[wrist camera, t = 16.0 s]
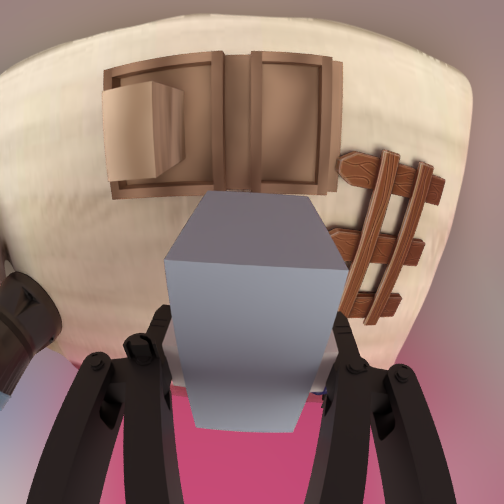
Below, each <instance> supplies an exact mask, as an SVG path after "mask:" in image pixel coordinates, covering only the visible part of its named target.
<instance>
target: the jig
mask: <svg viewBox="0 0 504 504" xmlns="http://www.w3.org/2000/svg"><path fill="white" fill-rule="evenodd" d="M149 81H153V82H157V83H160V84H163V85H167V86H170V87H173V88H176V89H179V90H182V91H184V130H185V156H186V158H185V159H184V160H182V161H180V162H179V163H177V164H176V165H174V166H173V167H171V168H170V169H168V170H167V171H165V172H164V173H162V174H161V175H159V176H158V177H156V178H144V179H132V180H121V181H111V182H110V185H111V192H112V199H113V200H116V199H130V198H146V197H166V196H194V195H205V194H206V192H207V191H226V190H232V189H251V193H268V194H306V195H327V192H337V184H338V173H337V172H336V170H335V168H336V164H337V159H338V157H340V145H341V127H342V99H343V62H338V61H332V57H328V56H320V55H311V54H301V53H289V52H268V51H251V55H225V54H224V52H223V51H211V52H199V53H189V54H181V55H174V56H167V57H161V58H155V59H150V60H144V61H140V62H135V63H130V64H126V65H122V66H118V67H114V68H110V69H107V70H104V80H103V91H106V90H110V89H114V88H119V87H123V86H128V85H133V84H138V83H143V82H149Z"/></svg>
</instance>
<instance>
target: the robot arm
mask: <svg viewBox="0 0 504 504" xmlns="http://www.w3.org/2000/svg"><path fill="white" fill-rule="evenodd" d="M61 328H62V324H61V318H60V315H59V313H58V311H57V309H56V307H55V305H54V303H53V302H52V300H51V299H50V297H49V296H48V295H47V293H46V292H45V291H44V290H43V289H42V288H41V287H40V285H38V284H37V283H36V282H35V281H34V280H33V279H31V278H30V277H28V276H27V275H25V274H22V273H19V272H14V273H11V274H10V275H9V276H8V277H6V278H5V279H4V281H3V282H2V284H1V286H0V411H1V410H2V409H3V408H4V406H5V405H6V403H7V402H8V400H9V398H11V394H12V393H13V391H14V389H15V387H16V385H17V383H18V382H19V380H20V378H21V376H22V374H23V373H24V371H25V369H26V368H27V366H28V364H29V363H30V361H31V359H32V358H33V356H34V355H35V354H37V353H38V352H39V351H41V350H42V349H44V348H45V347H47V346H48V345H49V344H51V343H52V342H54V341H55V339H56V338H57V336H58V335H59V333H60V332H61ZM123 347H124V350H125V352H126V354H127V358H121V359H110V357H109V356H108V355H107V354H106V353H103V352H95V353H91V354H90V355H88V356H87V357H86V358H85V360H84V361H83V363H82V365H81V367H80V369H79V371H78V373H77V375H76V377H75V379H74V381H73V383H72V385H71V387H70V389H69V391H68V393H67V396H66V397H65V400H64V402H63V404H62V407H61V409H60V411H59V413H58V415H57V417H56V420H55V422H54V425H53V427H52V430H51V432H50V434H49V437H48V439H47V442H46V444H45V447H44V450H43V453H42V455H41V458H40V461H39V464H38V467H37V469H36V473H35V476H34V479H33V482H32V485H31V488H30V492H29V495H28V499H27V503H26V504H99V502H100V498H101V494H102V490H103V486H104V482H105V478H106V474H107V470H108V466H109V462H110V459H111V455H112V451H113V448H114V445H115V442H116V438H117V435H118V432H119V428H120V425H121V422H122V419H123V416H124V441H123V443H124V444H123V449H124V450H123V453H124V454H123V455H124V485H125V499H126V504H184V501H183V495H182V489H181V483H180V476H179V469H178V461H177V453H176V444H175V434H174V424H173V411H172V396H171V390H170V384H171V380H172V381H173V384H174V385H175V386H182V387H186V386H185V381H184V377H183V372H182V367H181V363H180V358H179V353H178V348H177V343H176V337H175V332H174V326H173V320H172V314H171V308H170V305H162V306H161V307H160V308H159V309H158V310H156V312H155V314H154V316H153V320H152V321H151V323H150V326H149V328H148V330H147V332H146V333H137V334H133V335H131V336H129V337H128V338H127V339H126V340H125V342H124V344H123ZM325 385H326V389H327V395H326V397H325V399H324V401H323V404H322V406H321V408H323V407H324V408H323V414H322V421H321V427H320V432H319V438H318V444H317V449H316V455H315V459H314V464H313V468H312V473H311V478H310V482H309V486H308V490H307V494H306V498H305V502H304V504H363V498H364V490H365V484H366V475H367V465H368V453H369V440H370V425H371V429H372V433H373V438H374V443H375V448H376V452H377V457H378V463H379V468H380V473H381V479H382V485H383V490H384V497H385V504H457V503H456V498H455V494H454V489H453V485H452V481H451V477H450V473H449V469H448V466H447V462H446V459H445V455H444V452H443V449H442V445H441V442H440V439H439V436H438V433H437V430H436V427H435V424H434V421H433V419H432V416H431V413H430V410H429V408H428V405H427V402H426V400H425V397H424V395H423V392H422V389H421V387H420V384H419V382H418V380H417V377H416V375H415V373H414V371H413V370H412V369H411V368H410V367H409V366H407V365H404V364H395V365H393V366H392V367H390V368H389V370H384V369H378V368H374V367H371V366H369V364H368V362H367V361H366V360H365V359H363V358H362V357H361V356H360V354H359V351H358V348H357V345H356V342H355V339H354V336H353V334H352V330H351V327H350V325H349V322H348V319H347V317H346V316H345V315H344V314H343V313H342V312H341V311H337V314H336V318H335V321H334V324H333V327H332V330H331V333H330V336H329V340H328V343H327V346H326V348H325V351H324V354H323V357H322V360H321V363H320V366H319V368H318V371H317V374H316V376H315V379H314V382H313V384H312V387H311V390H310V392H323V390H324V388H325Z"/></svg>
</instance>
